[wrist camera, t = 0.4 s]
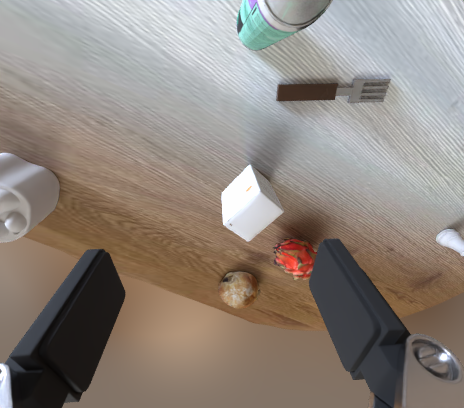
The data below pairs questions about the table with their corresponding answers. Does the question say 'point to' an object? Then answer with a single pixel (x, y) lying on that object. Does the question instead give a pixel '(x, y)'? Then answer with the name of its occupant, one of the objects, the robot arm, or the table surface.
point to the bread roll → (239, 289)
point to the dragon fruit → (295, 257)
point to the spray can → (275, 20)
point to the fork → (330, 91)
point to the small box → (250, 204)
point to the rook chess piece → (451, 240)
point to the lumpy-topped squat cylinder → (24, 196)
